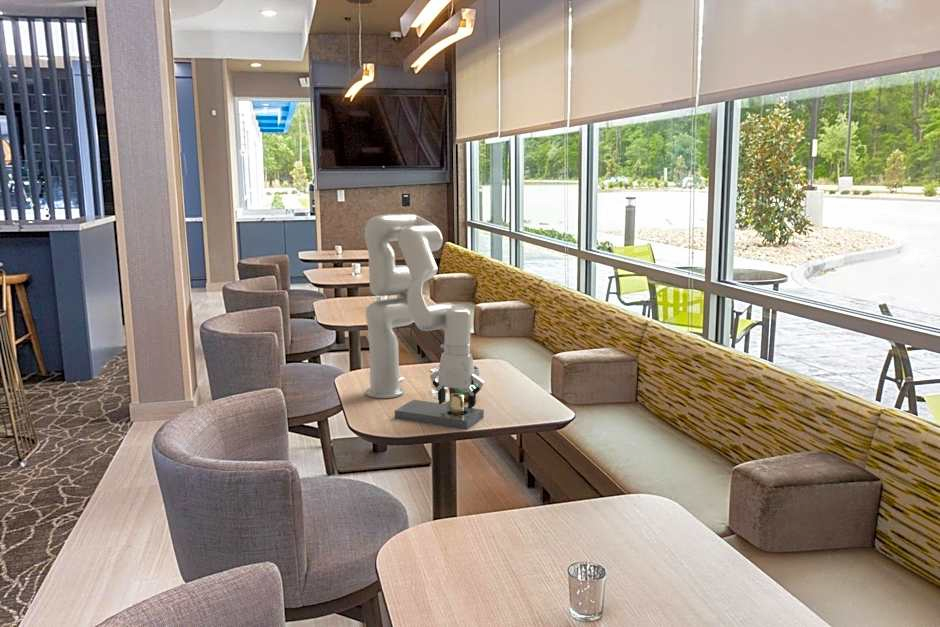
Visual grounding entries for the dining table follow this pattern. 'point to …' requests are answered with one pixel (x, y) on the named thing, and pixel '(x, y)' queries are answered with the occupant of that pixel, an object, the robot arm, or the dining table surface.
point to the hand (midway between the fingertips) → (456, 405)
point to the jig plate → (438, 414)
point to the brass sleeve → (457, 404)
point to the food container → (465, 392)
